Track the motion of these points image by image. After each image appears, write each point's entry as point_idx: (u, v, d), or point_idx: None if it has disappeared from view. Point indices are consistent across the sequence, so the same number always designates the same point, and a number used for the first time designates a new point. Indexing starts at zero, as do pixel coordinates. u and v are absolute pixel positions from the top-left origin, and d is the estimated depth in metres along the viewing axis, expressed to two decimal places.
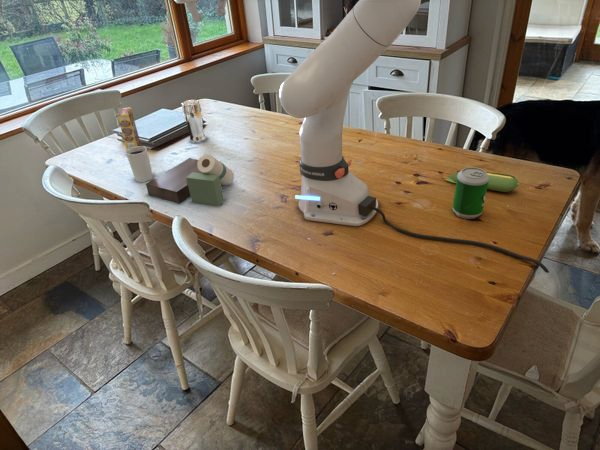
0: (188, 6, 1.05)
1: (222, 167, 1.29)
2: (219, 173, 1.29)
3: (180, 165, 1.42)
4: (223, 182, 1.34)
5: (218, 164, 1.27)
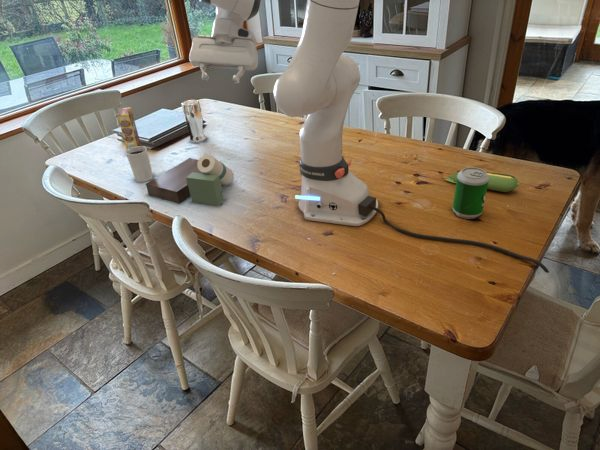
0: None
1: (222, 167, 1.29)
2: (219, 173, 1.29)
3: (180, 165, 1.42)
4: (223, 182, 1.34)
5: (218, 164, 1.27)
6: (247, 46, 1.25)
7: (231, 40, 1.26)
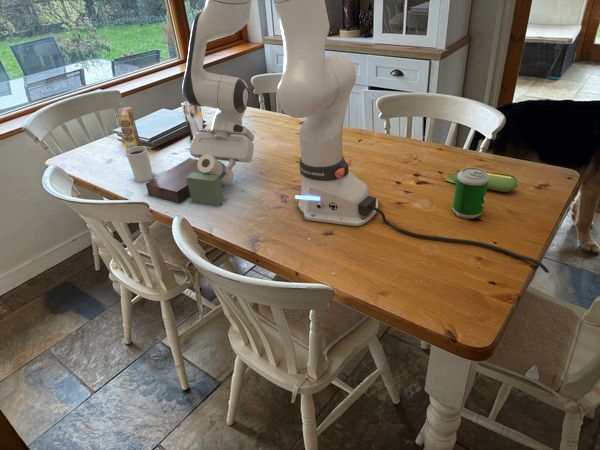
0: None
1: (222, 167, 1.29)
2: (219, 173, 1.29)
3: (180, 165, 1.42)
4: (223, 182, 1.34)
5: (218, 164, 1.27)
6: (241, 141, 1.29)
7: (227, 135, 1.30)
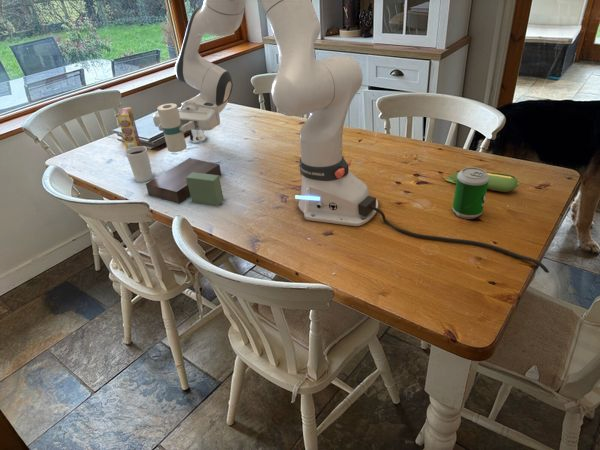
0: None
1: (180, 122, 1.27)
2: (175, 124, 1.26)
3: (180, 165, 1.42)
4: (173, 143, 1.28)
5: (178, 114, 1.26)
6: (208, 112, 1.32)
7: (196, 109, 1.35)
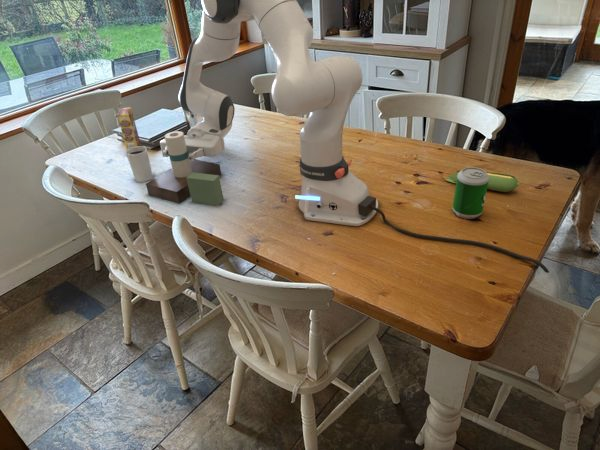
0: None
1: (186, 150, 1.32)
2: (181, 151, 1.31)
3: None
4: (180, 169, 1.33)
5: (184, 142, 1.31)
6: (213, 139, 1.37)
7: (202, 135, 1.40)
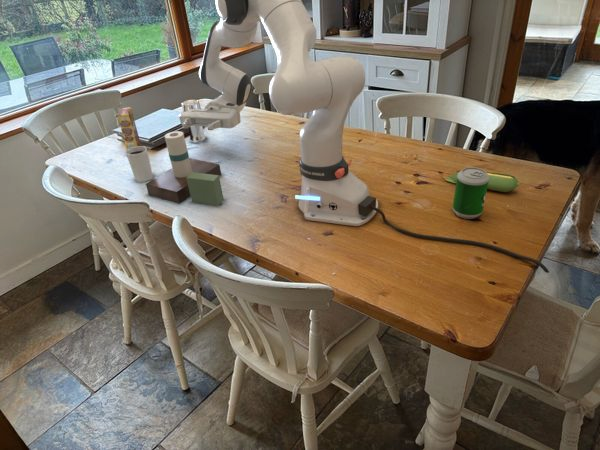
0: None
1: (186, 150, 1.32)
2: (181, 151, 1.31)
3: None
4: (180, 169, 1.33)
5: (184, 142, 1.31)
6: (230, 112, 1.45)
7: (219, 109, 1.47)
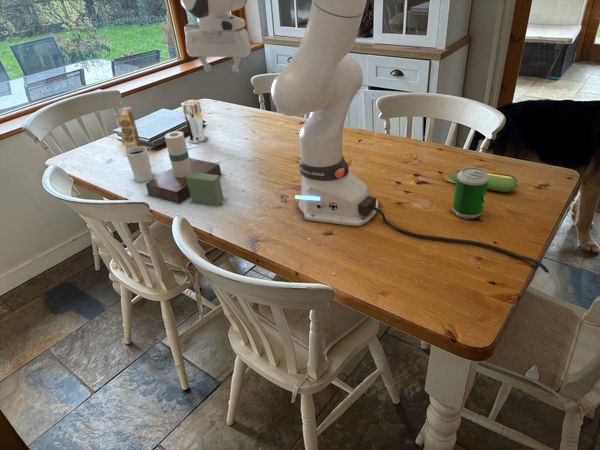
0: None
1: (186, 150, 1.32)
2: (181, 151, 1.31)
3: None
4: (180, 169, 1.33)
5: (184, 142, 1.31)
6: (235, 37, 1.23)
7: (218, 32, 1.24)
